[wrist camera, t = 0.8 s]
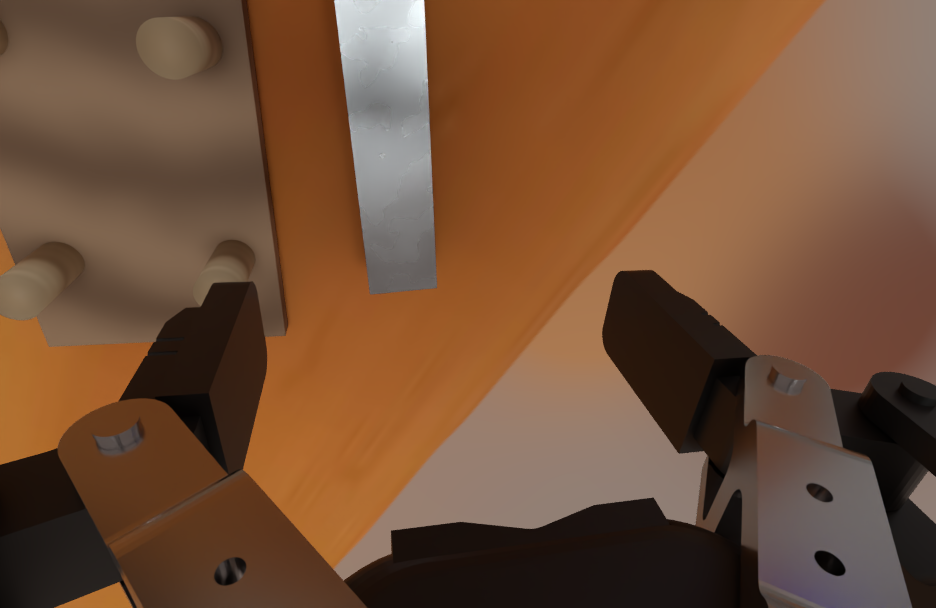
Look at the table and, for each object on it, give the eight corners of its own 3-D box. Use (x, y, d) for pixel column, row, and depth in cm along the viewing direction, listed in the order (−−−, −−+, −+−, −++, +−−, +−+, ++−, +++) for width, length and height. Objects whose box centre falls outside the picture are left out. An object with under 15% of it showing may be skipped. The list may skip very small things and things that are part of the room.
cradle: (-124, -133, 18) (-277, -179, 14) (234, -94, 21) (201, -122, 16) (60, 334, 28) (4, 395, 24) (287, 324, 30) (276, 378, 26)
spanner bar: (328, -78, 22) (322, -94, 18) (410, -77, 22) (419, -92, 19) (368, 261, 30) (369, 294, 26) (427, 256, 30) (436, 287, 27)
